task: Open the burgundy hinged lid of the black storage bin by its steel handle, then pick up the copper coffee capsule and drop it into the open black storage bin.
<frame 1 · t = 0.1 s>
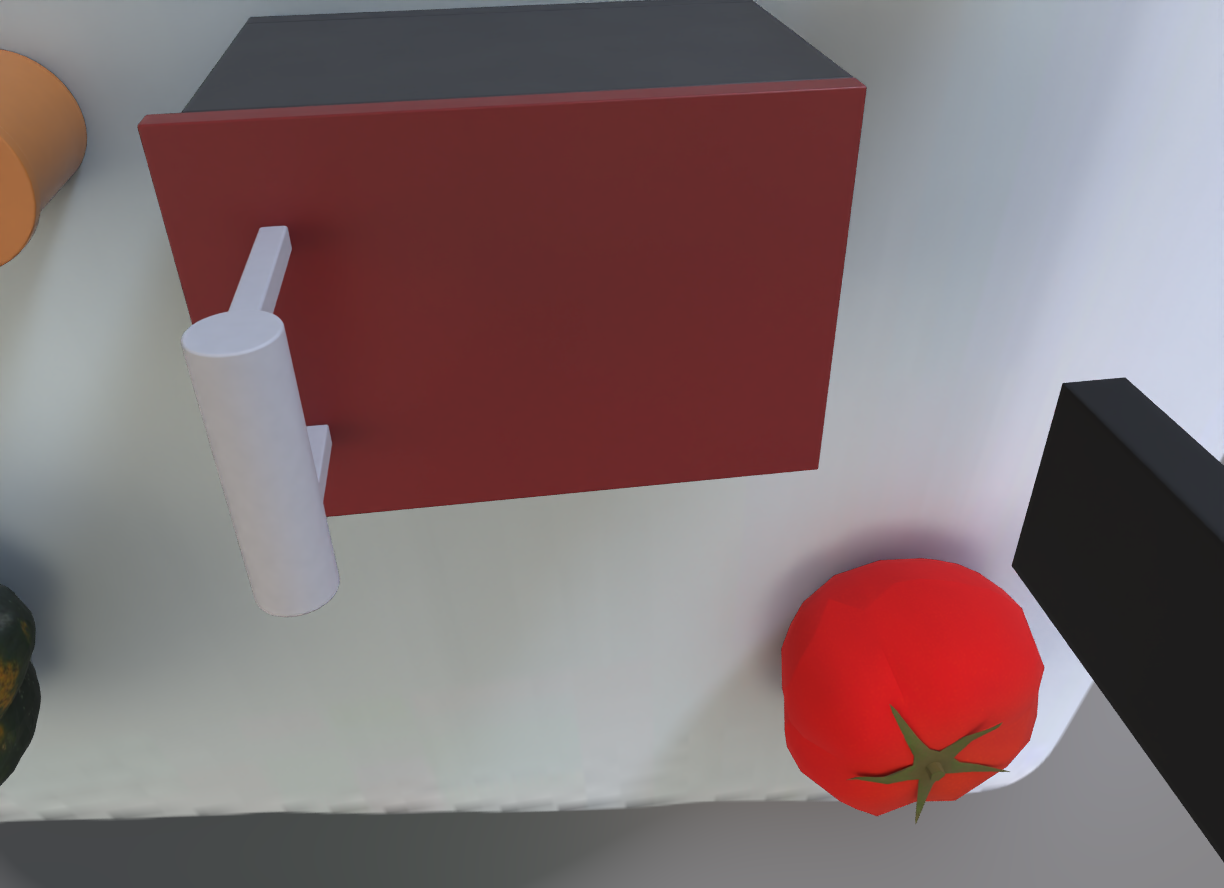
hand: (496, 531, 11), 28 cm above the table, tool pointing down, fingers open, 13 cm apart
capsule: (10, 121, 34), on the table
tomato: (864, 611, 54), on the table
lid: (540, 380, 25), point 15 cm above the table, hinge at 0.0°
black storage bin: (516, 177, 38), on the table
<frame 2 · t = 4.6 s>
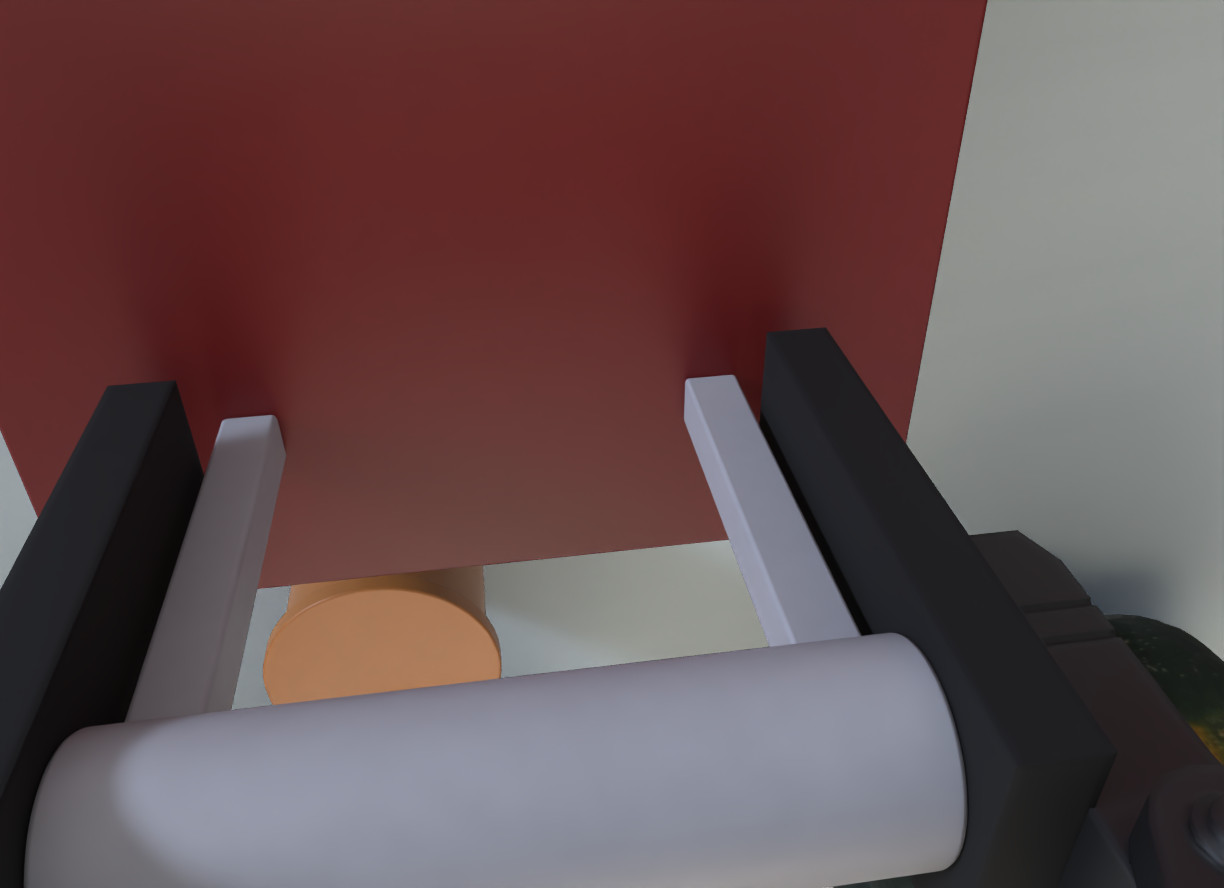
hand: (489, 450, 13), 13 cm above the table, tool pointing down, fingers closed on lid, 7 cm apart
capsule: (394, 505, 29), on the table
squash: (977, 702, 38), on the table
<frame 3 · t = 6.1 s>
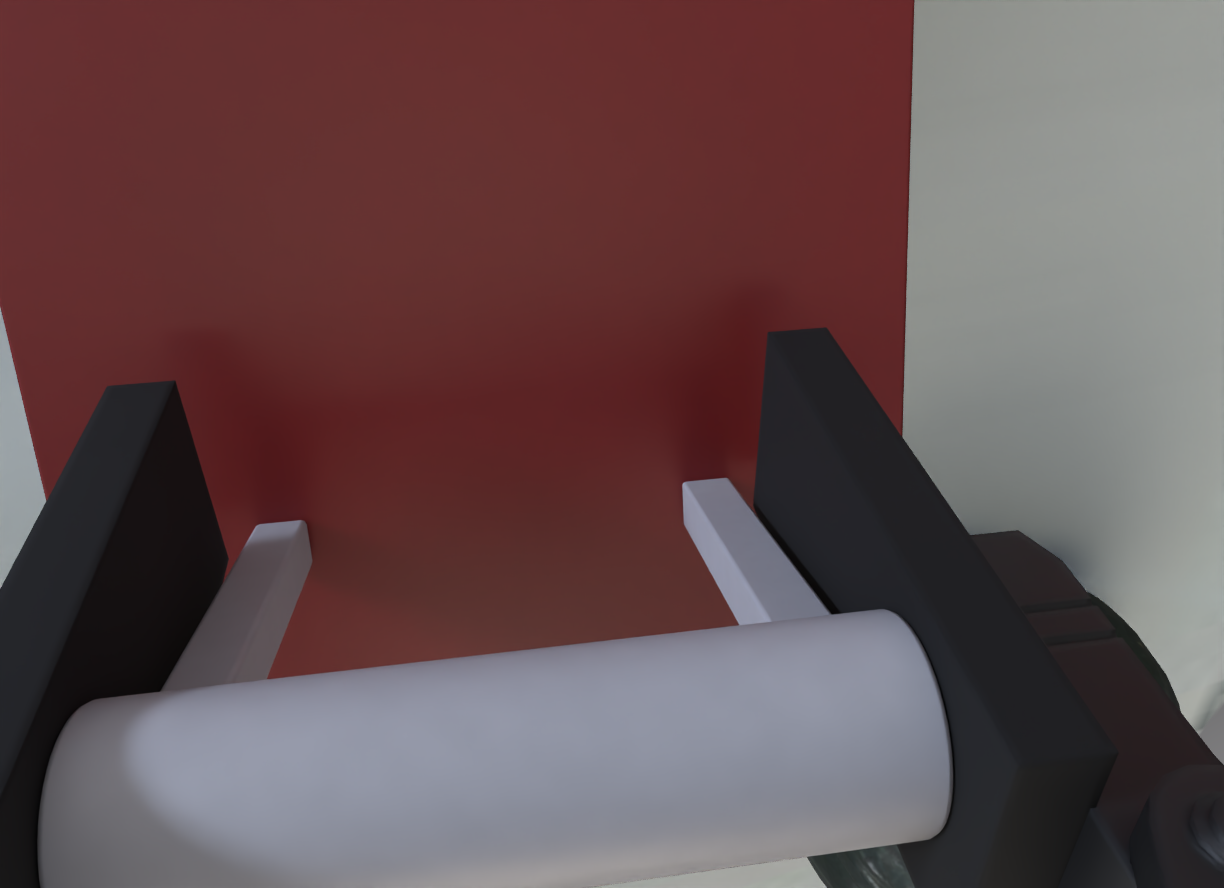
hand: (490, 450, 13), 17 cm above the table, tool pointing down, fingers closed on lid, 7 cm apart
lid: (447, 21, 10), point 18 cm above the table, hinge at 17.6°, touching gripper
squash: (922, 662, 43), on the table
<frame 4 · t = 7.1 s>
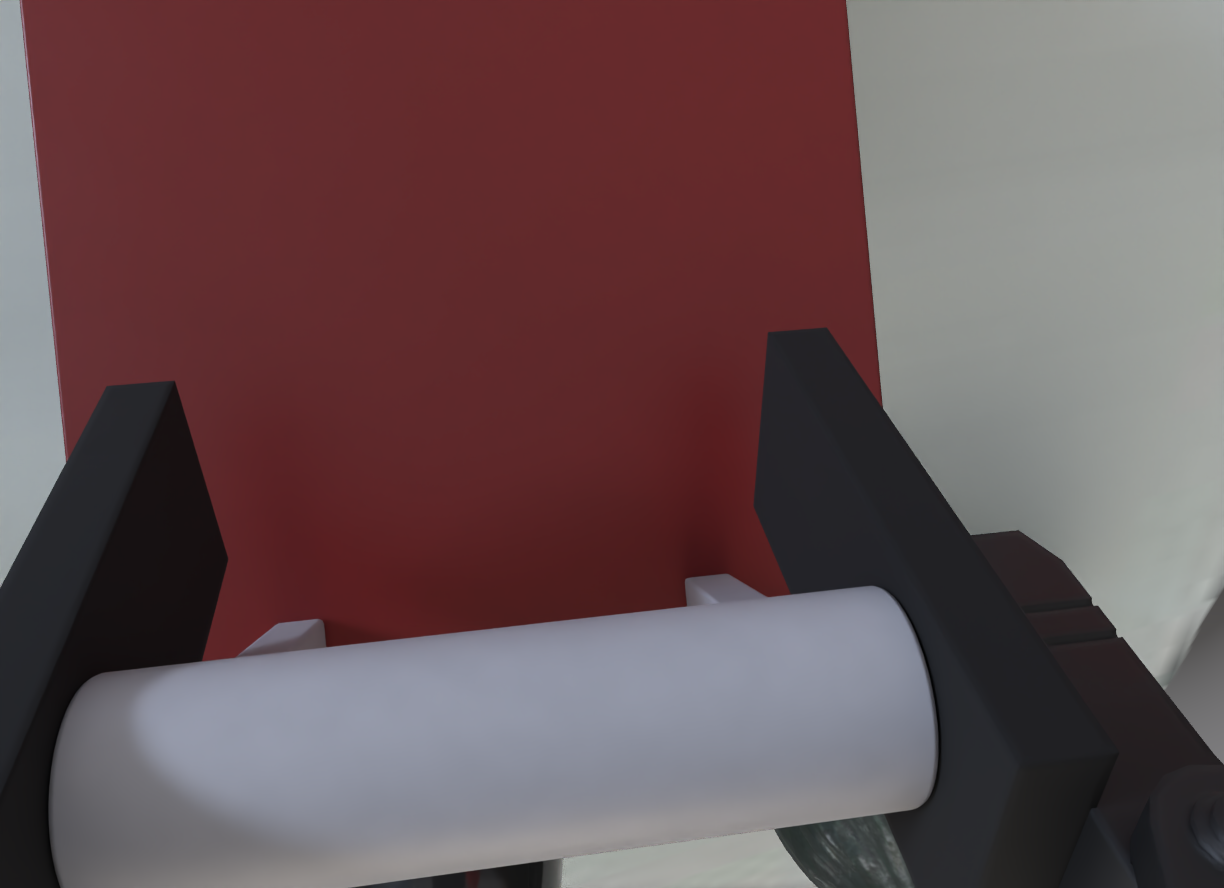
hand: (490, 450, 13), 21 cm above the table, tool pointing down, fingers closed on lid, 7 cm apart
lid: (460, 131, 12), point 19 cm above the table, hinge at 34.0°, touching gripper
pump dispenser: (442, 743, 47), on the table
squash: (883, 659, 48), on the table
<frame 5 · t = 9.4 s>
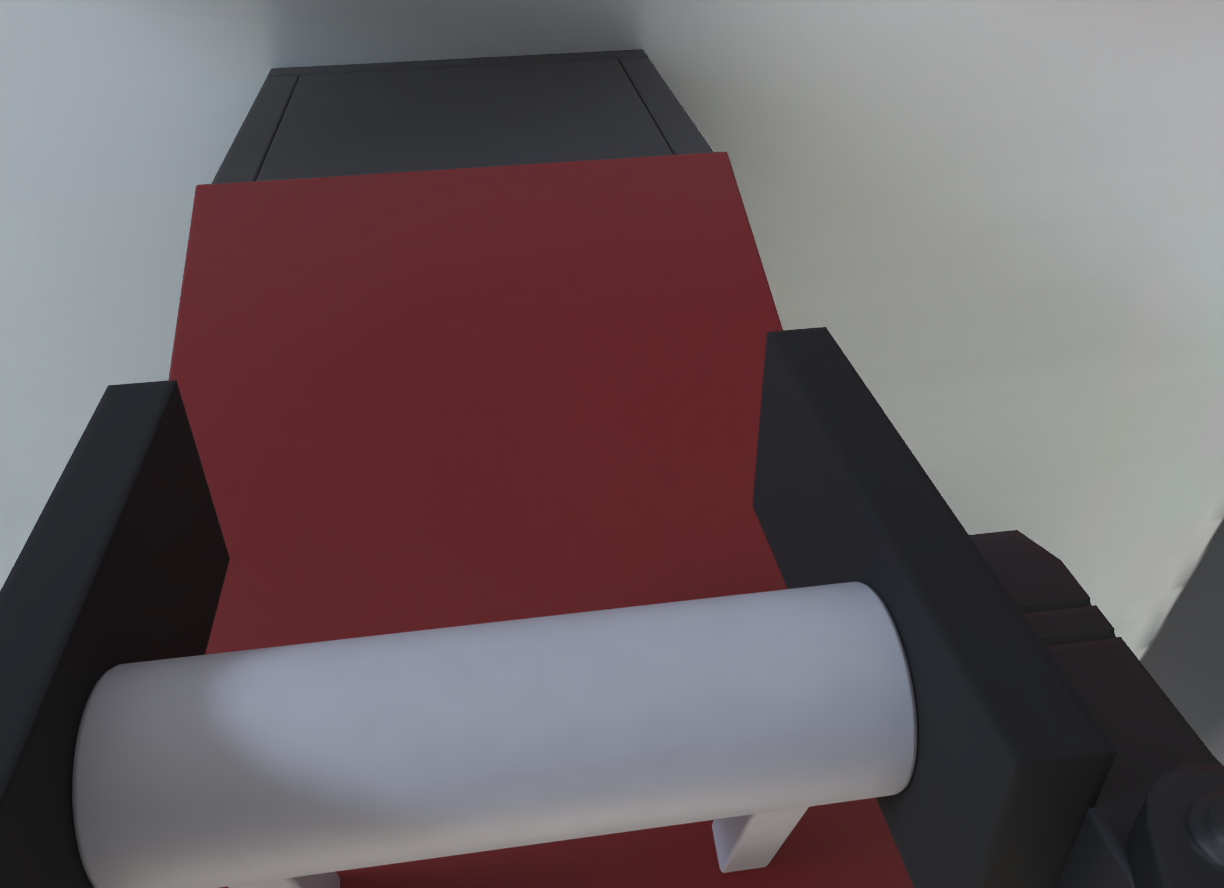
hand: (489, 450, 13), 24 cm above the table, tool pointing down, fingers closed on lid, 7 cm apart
lid: (487, 391, 15), point 21 cm above the table, hinge at 69.5°, touching gripper
black storage bin: (483, 296, 37), on the table
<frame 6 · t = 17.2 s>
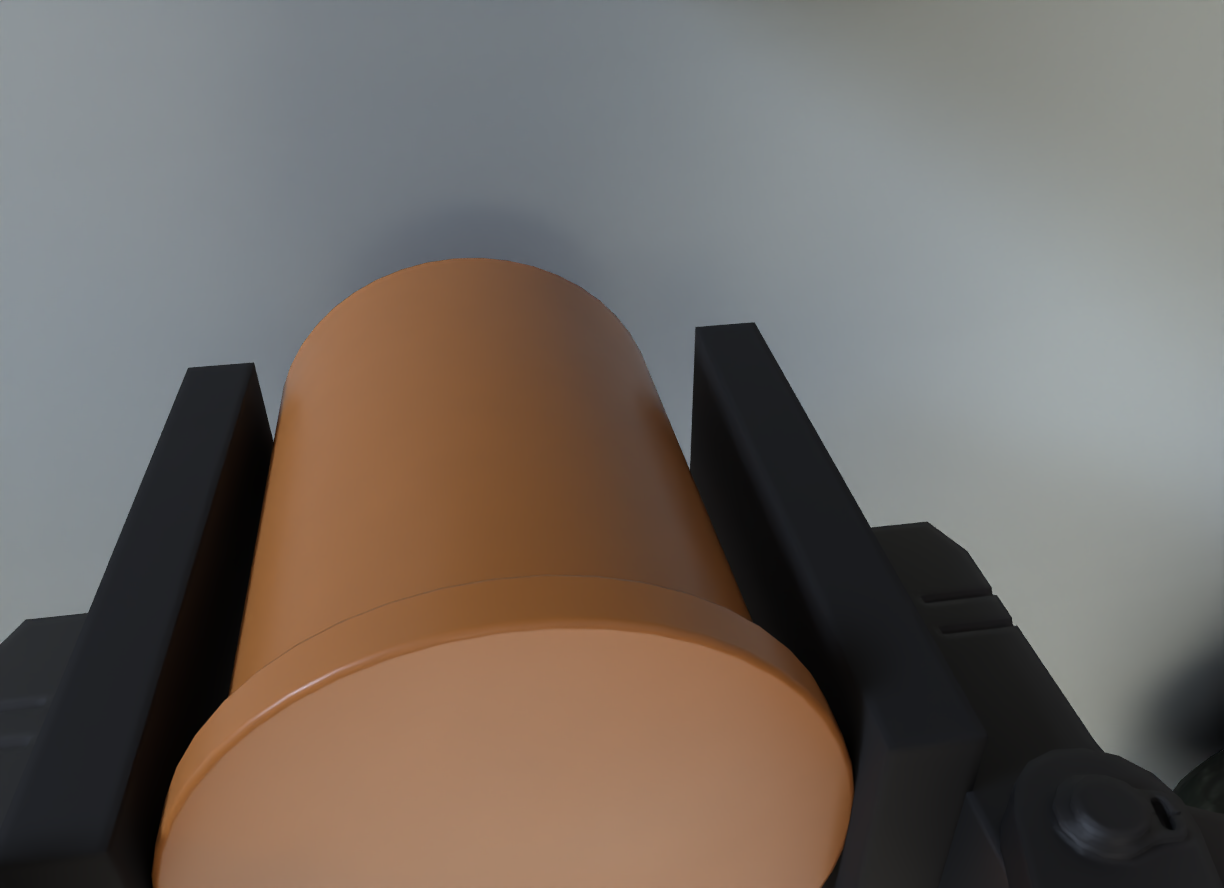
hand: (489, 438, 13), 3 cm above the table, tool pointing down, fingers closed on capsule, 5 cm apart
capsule: (472, 427, 13), point 3 cm above the table, touching gripper
when the fingers open (11 cm above the table, at t = 21.1 s): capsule drops 10 cm, resting on black storage bin.
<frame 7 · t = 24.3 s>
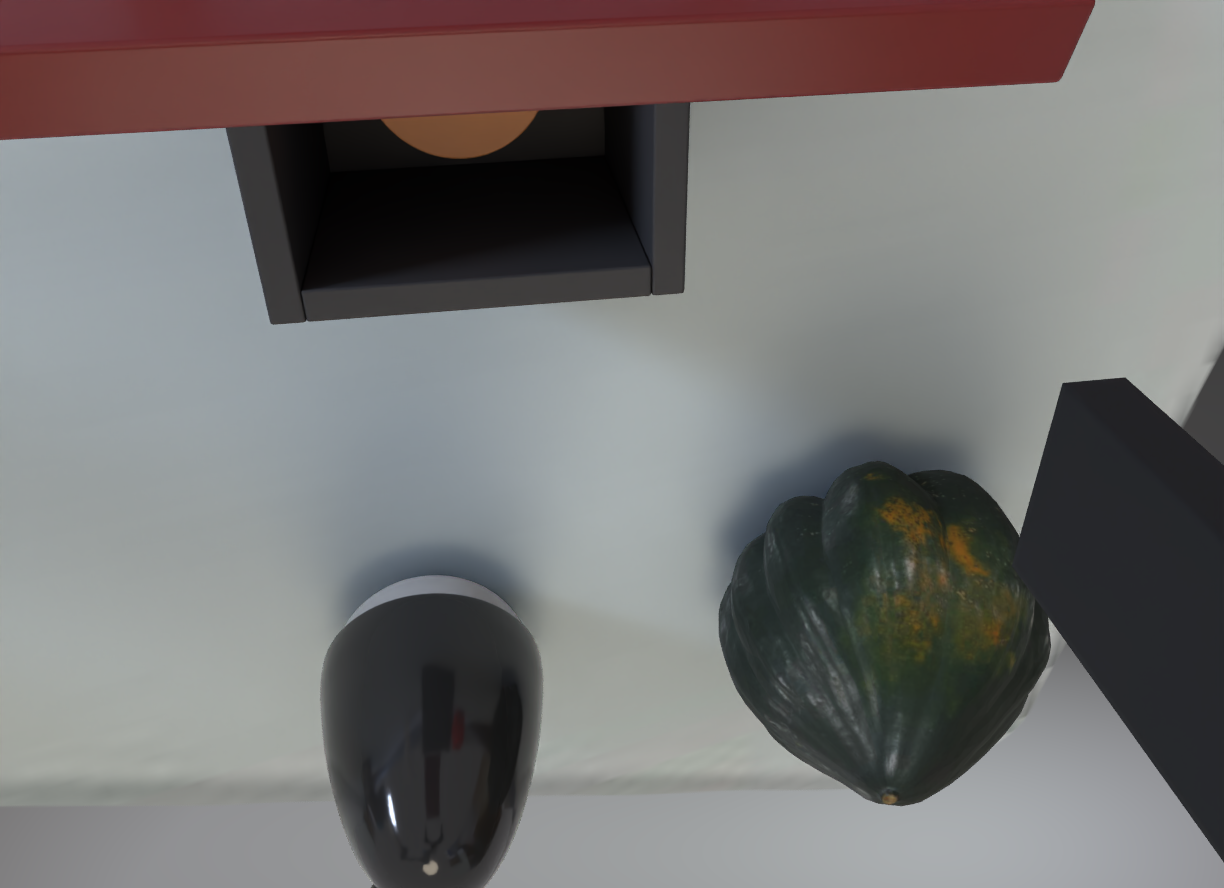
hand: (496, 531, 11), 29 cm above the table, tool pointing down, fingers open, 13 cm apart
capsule: (452, 18, 34), point 1 cm above the table, touching black storage bin
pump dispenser: (432, 618, 51), on the table
squash: (838, 545, 52), on the table
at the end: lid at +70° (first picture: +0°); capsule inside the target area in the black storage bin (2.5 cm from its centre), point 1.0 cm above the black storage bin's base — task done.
